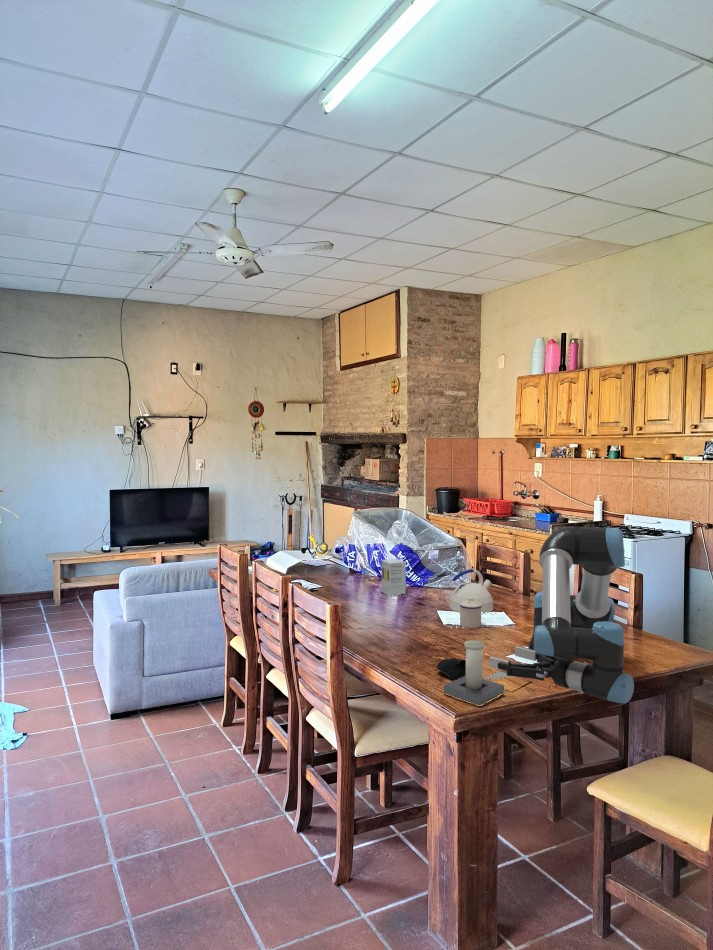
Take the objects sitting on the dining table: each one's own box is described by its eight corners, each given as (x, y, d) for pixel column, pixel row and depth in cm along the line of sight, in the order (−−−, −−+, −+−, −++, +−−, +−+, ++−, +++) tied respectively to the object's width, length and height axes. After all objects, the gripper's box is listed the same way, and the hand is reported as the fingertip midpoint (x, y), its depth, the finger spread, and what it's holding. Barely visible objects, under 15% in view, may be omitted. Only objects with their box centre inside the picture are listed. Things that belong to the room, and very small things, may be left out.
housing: (468, 683, 205) (468, 674, 205) (503, 695, 196) (504, 685, 196) (443, 694, 196) (443, 685, 196) (479, 707, 187) (479, 697, 187)
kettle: (503, 611, 292) (503, 571, 291) (463, 615, 285) (463, 575, 284) (478, 600, 311) (479, 563, 310) (440, 604, 303) (441, 566, 302)
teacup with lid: (485, 627, 266) (485, 599, 266) (465, 629, 264) (465, 601, 263) (472, 619, 278) (473, 593, 277) (453, 621, 276) (453, 594, 275)
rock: (461, 694, 212) (434, 682, 211) (461, 669, 220) (435, 658, 218) (475, 679, 207) (448, 668, 205) (475, 655, 214) (449, 643, 213)
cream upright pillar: (471, 689, 200) (472, 639, 199) (487, 695, 196) (487, 643, 195) (460, 694, 196) (460, 643, 195) (476, 700, 192) (476, 647, 191)
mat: (499, 672, 215) (499, 671, 215) (531, 682, 207) (531, 680, 207) (478, 681, 207) (478, 680, 207) (511, 692, 198) (511, 691, 198)
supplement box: (380, 592, 327) (381, 559, 326) (396, 590, 330) (397, 558, 329) (389, 596, 318) (389, 563, 317) (406, 595, 322) (406, 561, 321)
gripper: (548, 701, 164) (478, 679, 179) (592, 677, 182) (525, 659, 197) (548, 672, 164) (478, 652, 179) (593, 650, 181) (525, 634, 196)
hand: (503, 656), depth 188 cm, fingers open, 13 cm apart
